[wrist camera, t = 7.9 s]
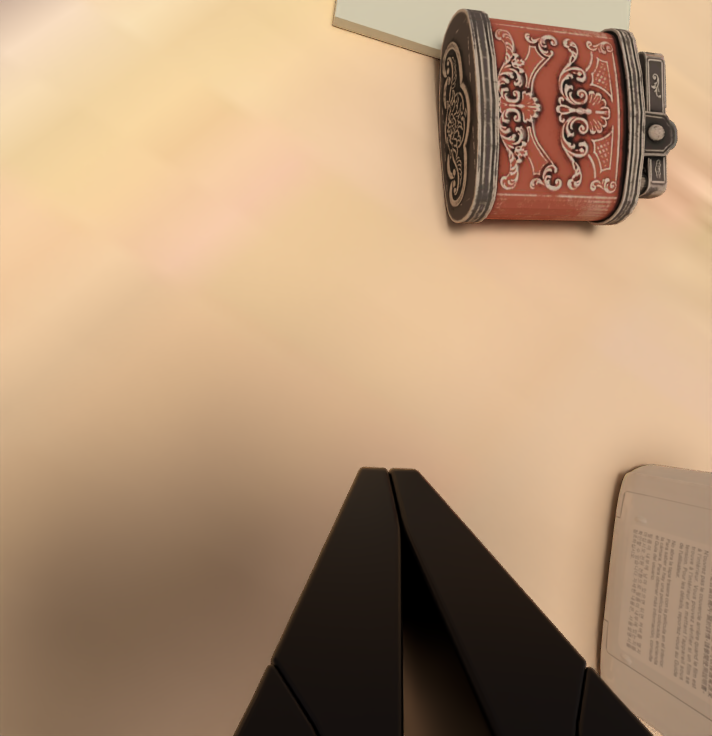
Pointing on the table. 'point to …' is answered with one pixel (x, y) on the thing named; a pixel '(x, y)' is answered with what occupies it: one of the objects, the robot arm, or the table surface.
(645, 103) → the lighter
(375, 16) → the mat
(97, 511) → the table surface
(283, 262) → the table surface
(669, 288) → the table surface
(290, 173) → the table surface
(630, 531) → the photo printer
